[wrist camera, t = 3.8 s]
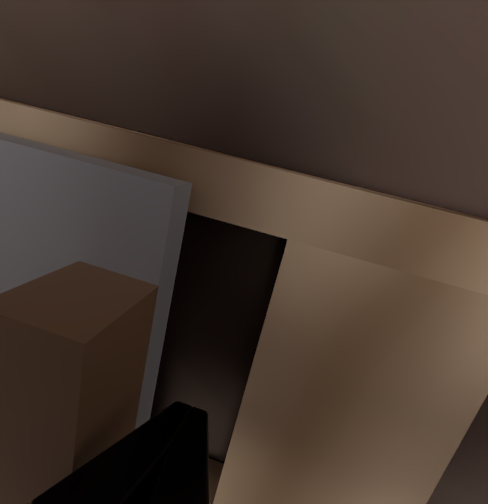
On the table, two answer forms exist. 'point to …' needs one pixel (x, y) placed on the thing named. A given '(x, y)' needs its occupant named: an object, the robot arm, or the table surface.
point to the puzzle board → (330, 322)
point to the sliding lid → (79, 306)
